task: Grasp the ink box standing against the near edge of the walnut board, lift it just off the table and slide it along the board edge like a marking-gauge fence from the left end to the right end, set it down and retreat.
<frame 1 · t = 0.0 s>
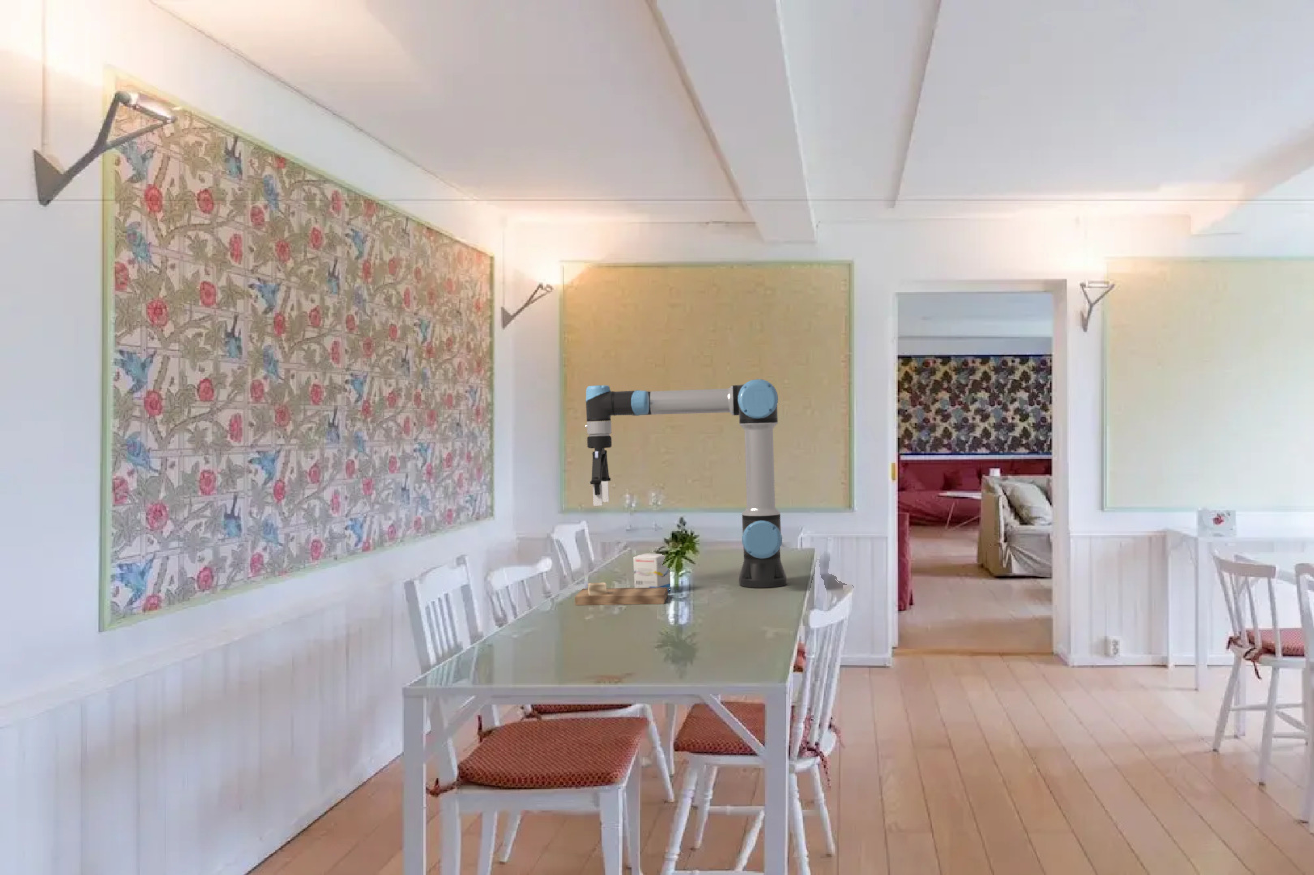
hand: (601, 503, 315), 28 cm above the table, fingers open, 13 cm apart
beech offcut: (597, 593, 300), point 2 cm above the table, touching board
board: (622, 600, 303), on the table
ink box: (652, 593, 315), on the table
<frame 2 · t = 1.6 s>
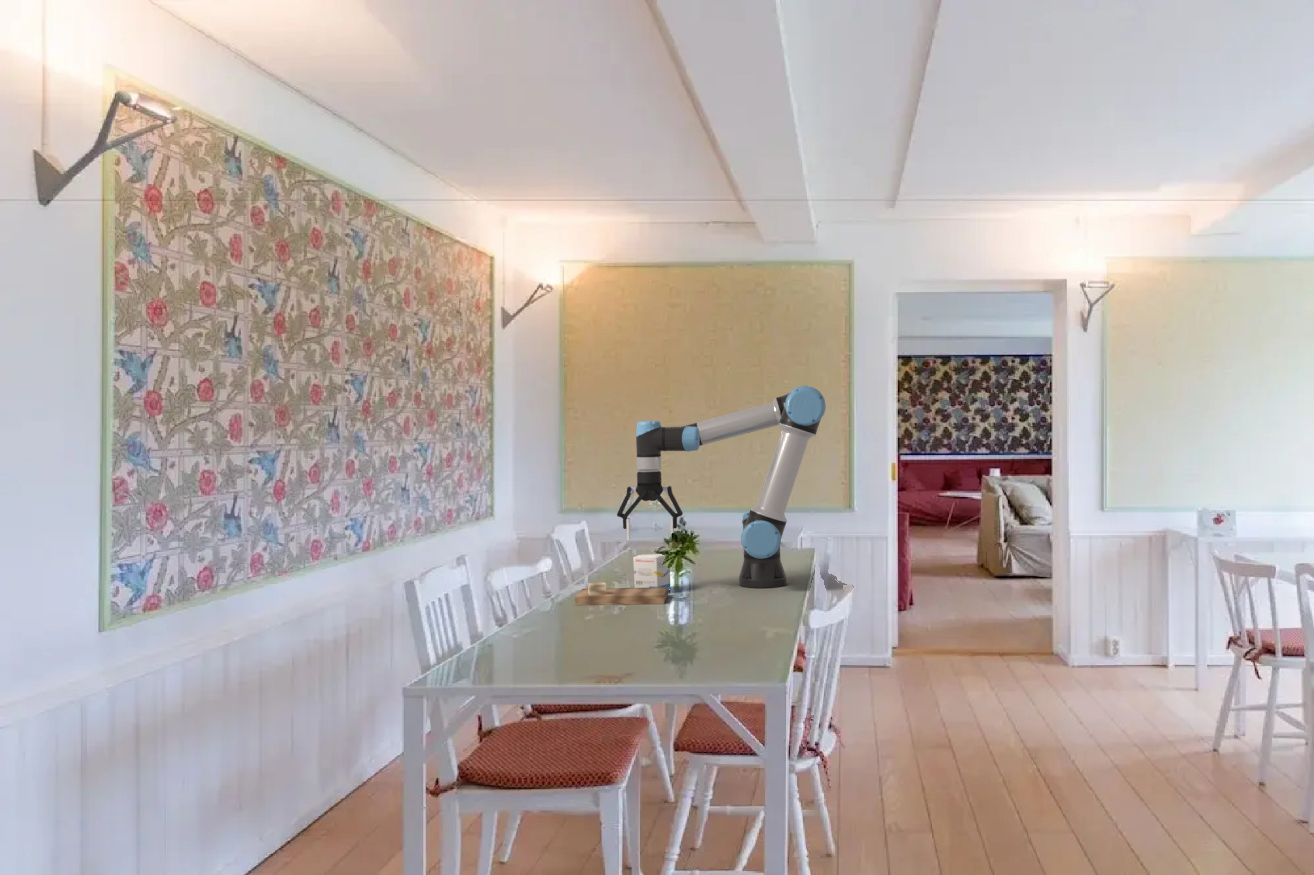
hand: (650, 539, 314), 17 cm above the table, fingers open, 13 cm apart
nothing on the table moved.
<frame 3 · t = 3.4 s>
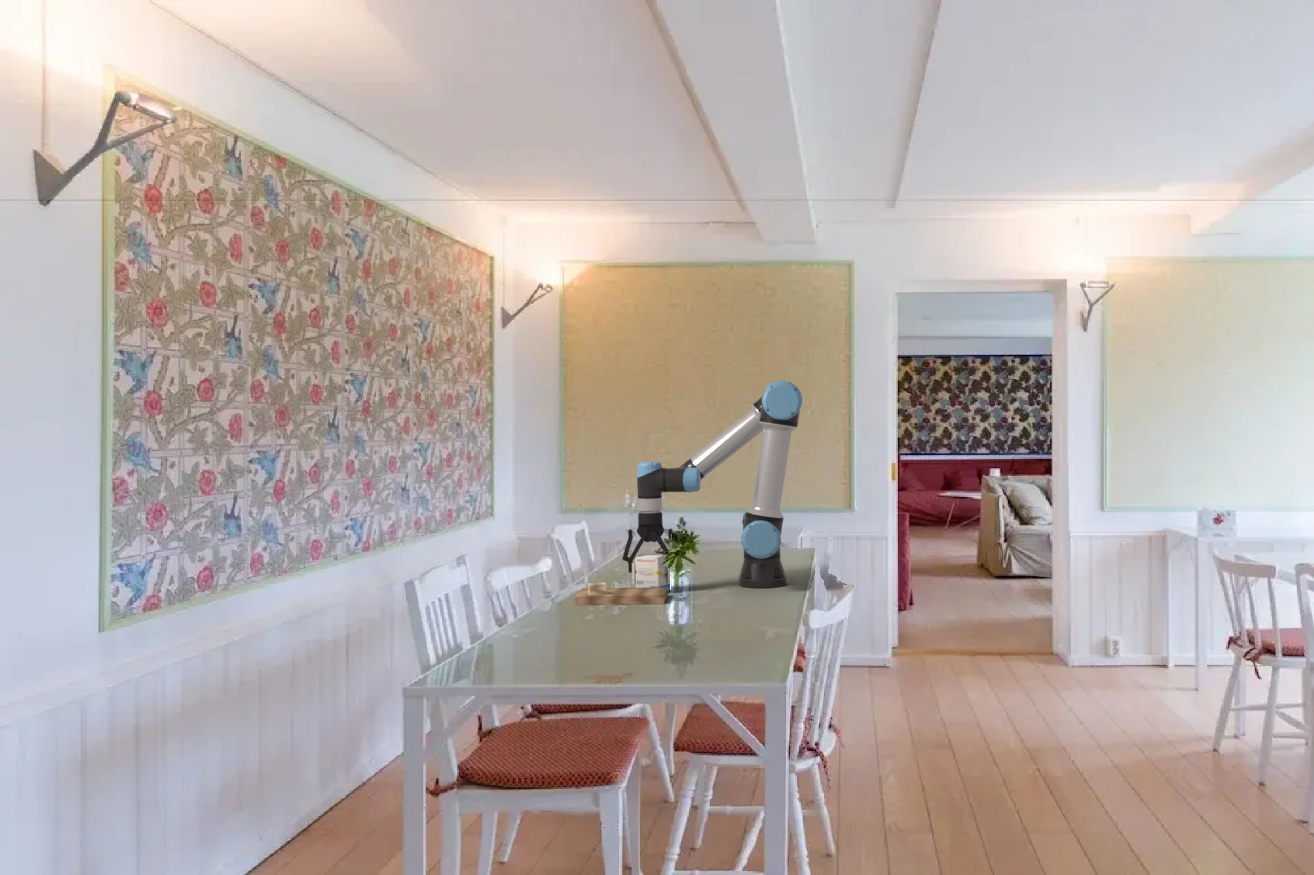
hand: (651, 583, 314), 3 cm above the table, fingers closed on ink box, 10 cm apart
ink box: (653, 592, 315), on the table, touching gripper
everything else where it was.
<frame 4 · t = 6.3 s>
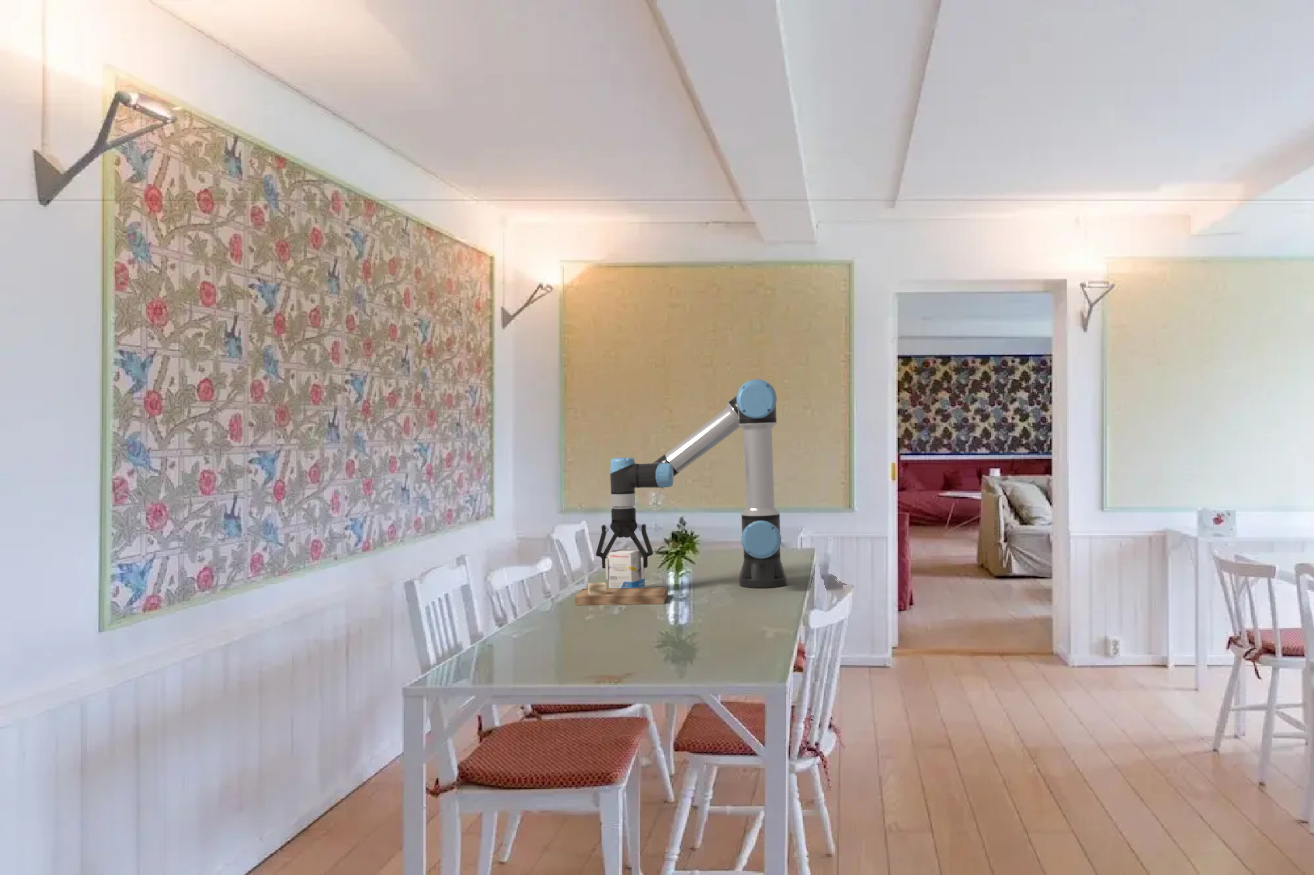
hand: (625, 578, 315), 5 cm above the table, fingers closed on ink box, 10 cm apart
ink box: (627, 588, 316), point 1 cm above the table, touching gripper
everything else where it was.
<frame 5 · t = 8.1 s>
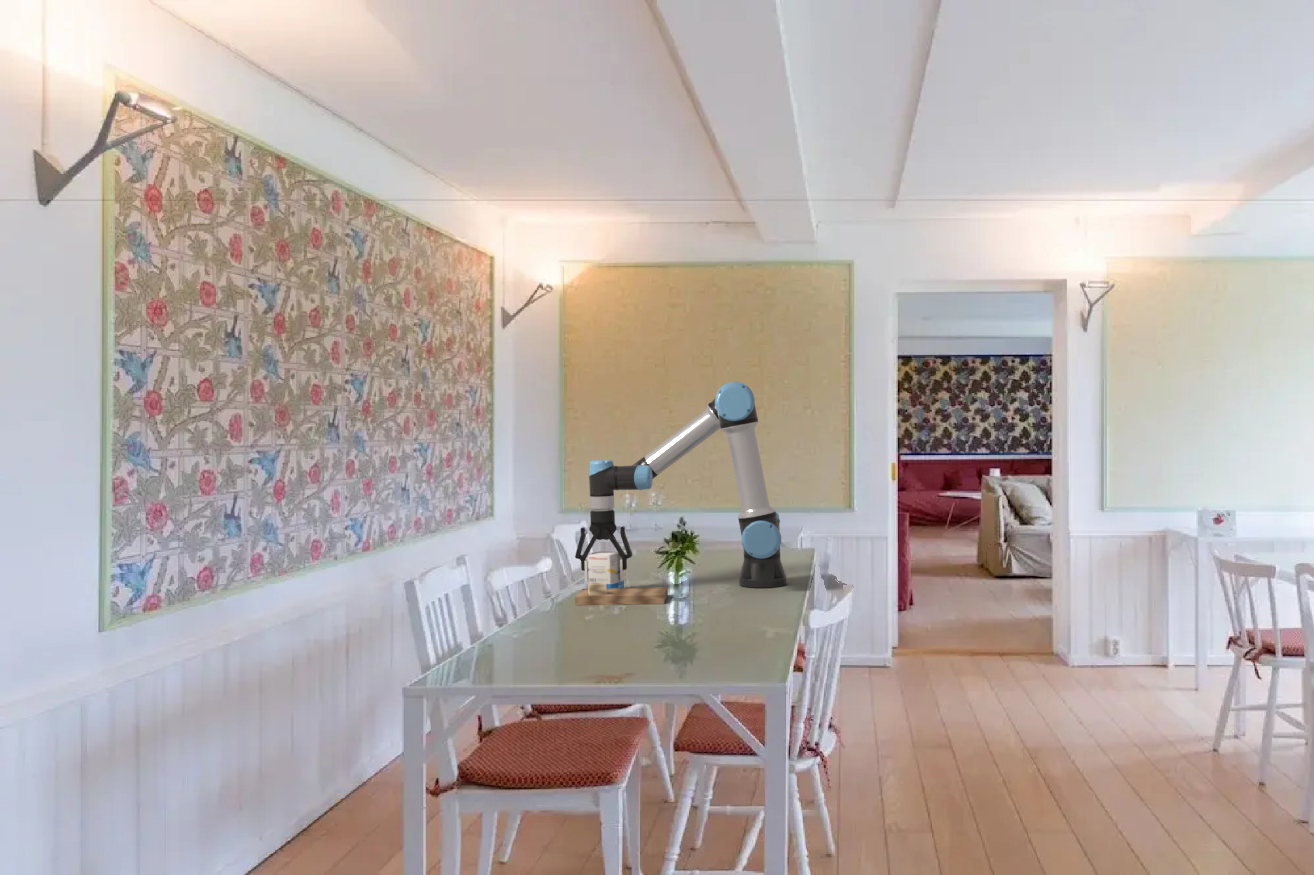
hand: (604, 580, 316), 4 cm above the table, fingers closed on ink box, 10 cm apart
ink box: (606, 590, 317), point 1 cm above the table, touching gripper
everything else where it was.
when the fingers open (3 cm above the table, at t = 9.2 s): ink box stays where it is, on the table.
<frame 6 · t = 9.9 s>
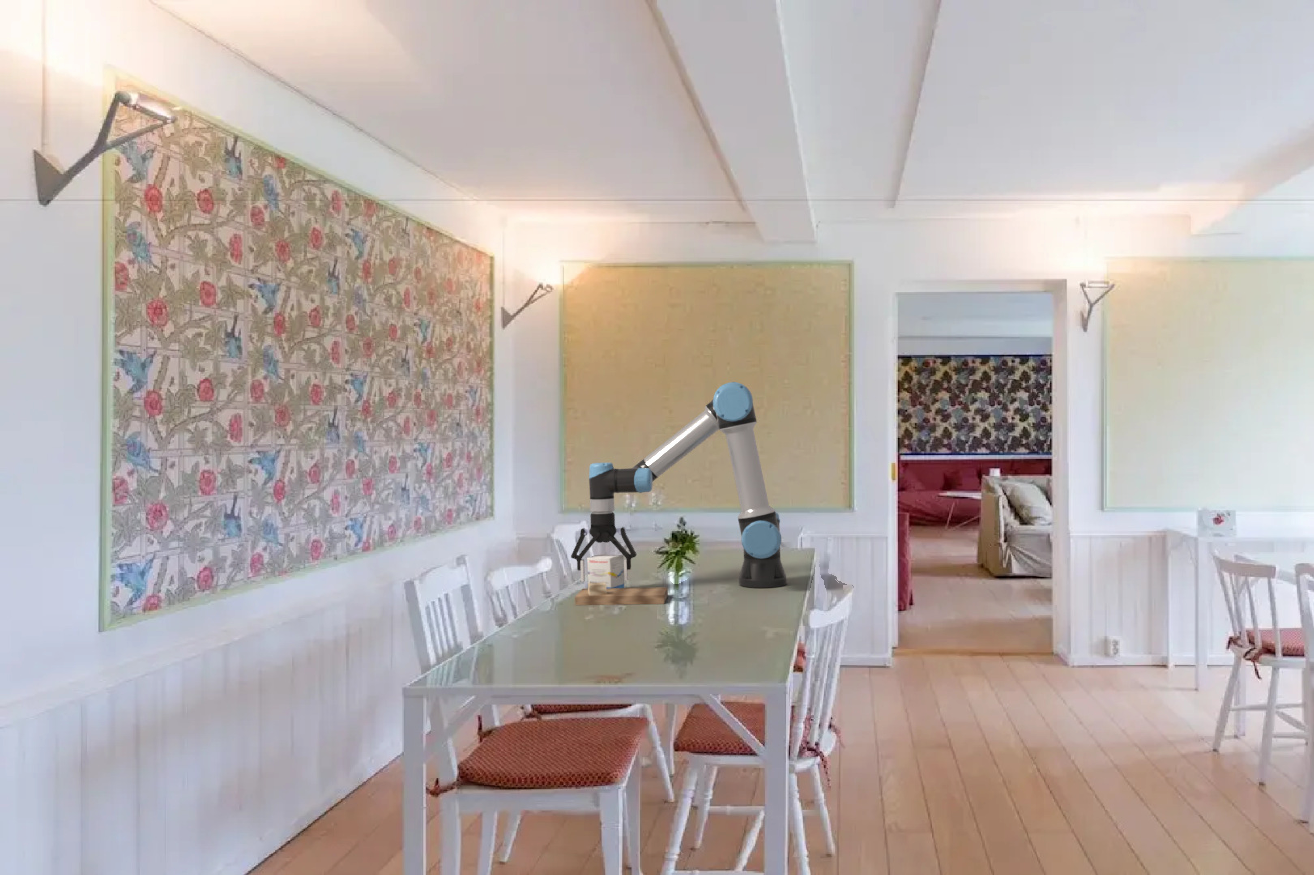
hand: (604, 580, 316), 4 cm above the table, fingers open, 13 cm apart
ink box: (606, 593, 317), on the table
everything else where it was.
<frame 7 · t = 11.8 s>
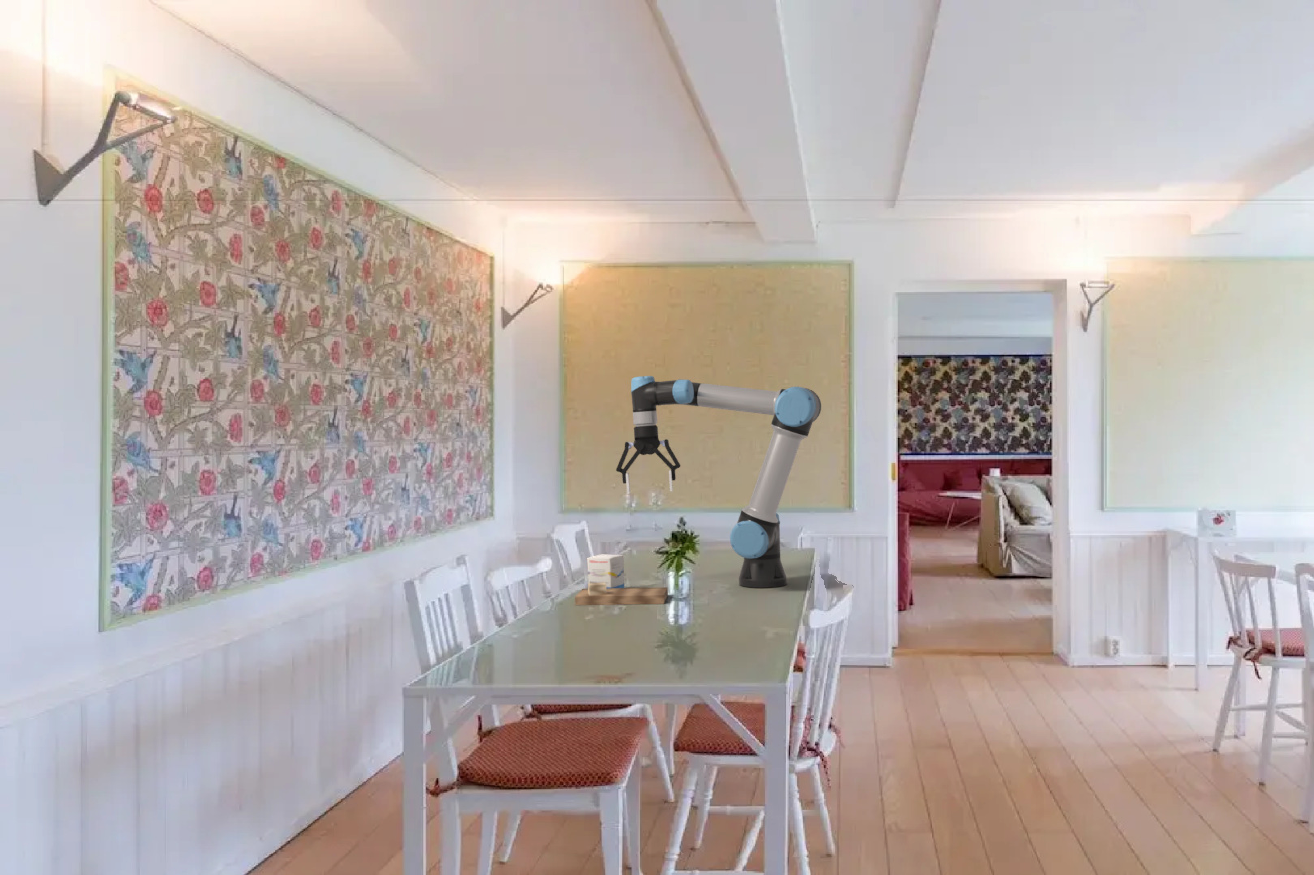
hand: (650, 492, 320), 31 cm above the table, fingers open, 13 cm apart
nothing on the table moved.
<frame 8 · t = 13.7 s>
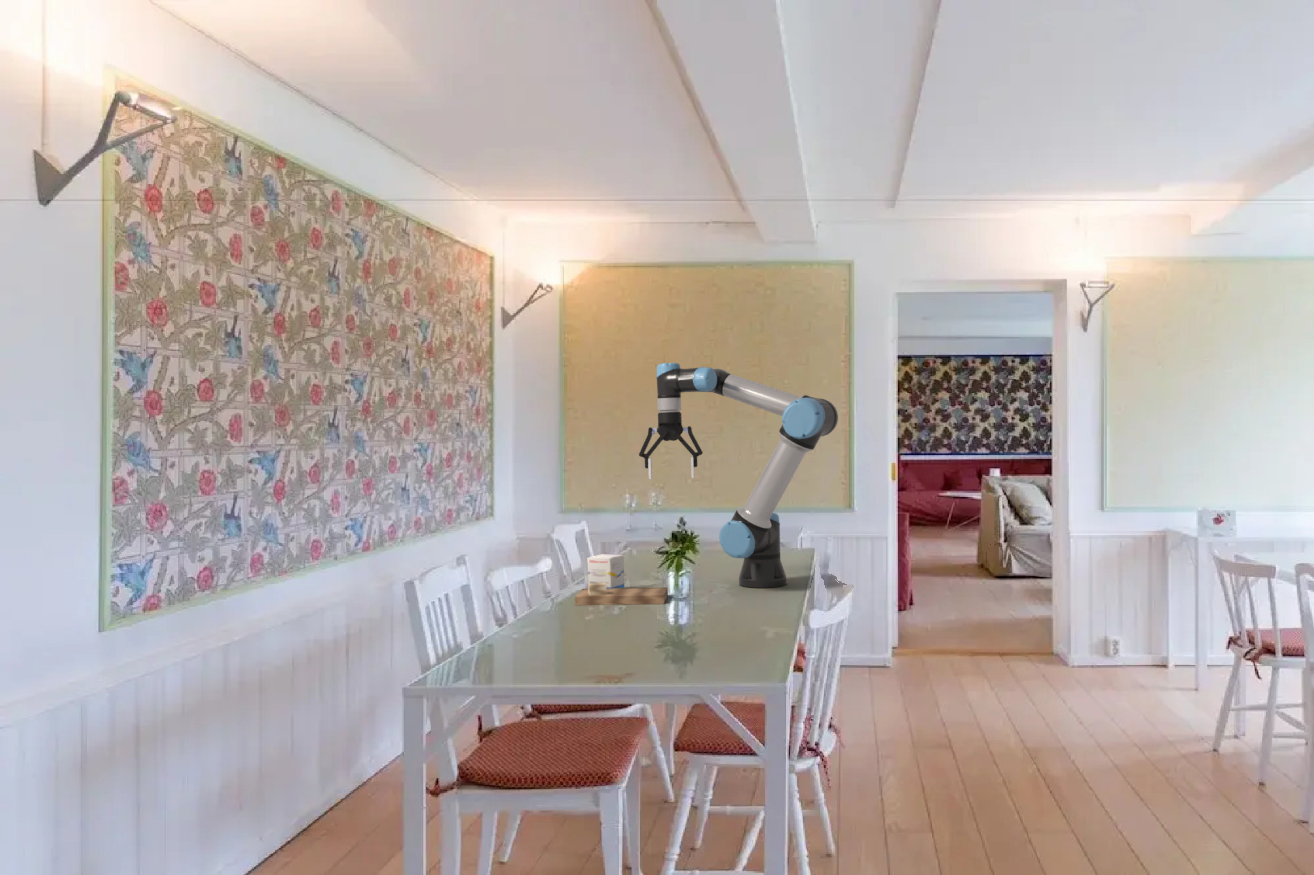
hand: (671, 478, 324), 35 cm above the table, fingers open, 13 cm apart
nothing on the table moved.
at the end: ink box inside the target area (1.8 cm from its centre), on the table; ink box tilted 0°; ink box moved 14.6 cm from its start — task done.
